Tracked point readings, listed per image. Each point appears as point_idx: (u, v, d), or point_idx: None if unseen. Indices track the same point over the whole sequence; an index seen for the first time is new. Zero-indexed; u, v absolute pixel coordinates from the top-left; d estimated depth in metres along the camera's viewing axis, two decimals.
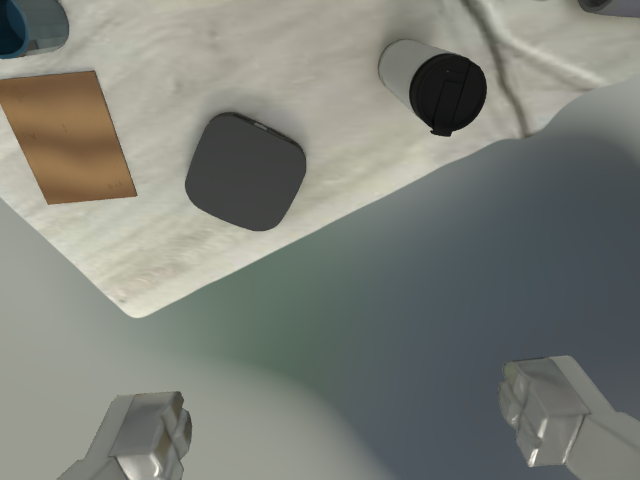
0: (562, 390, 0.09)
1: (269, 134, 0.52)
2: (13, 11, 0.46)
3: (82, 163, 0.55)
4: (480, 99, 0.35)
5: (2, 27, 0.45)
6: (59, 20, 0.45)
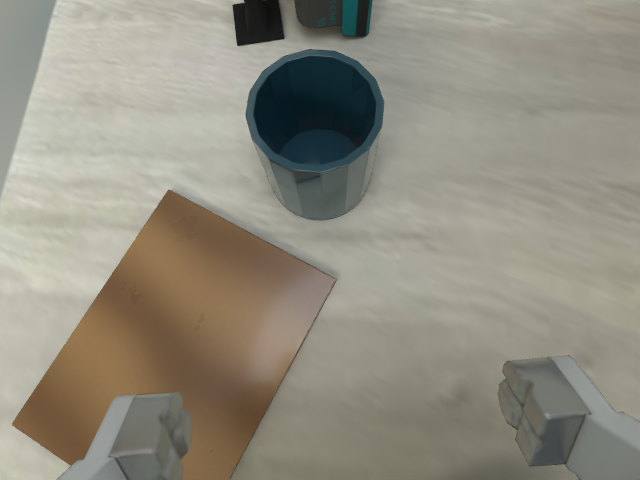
0: (562, 390, 0.09)
1: None
2: (300, 145, 0.27)
3: None
4: None
5: (274, 146, 0.26)
6: (363, 189, 0.25)
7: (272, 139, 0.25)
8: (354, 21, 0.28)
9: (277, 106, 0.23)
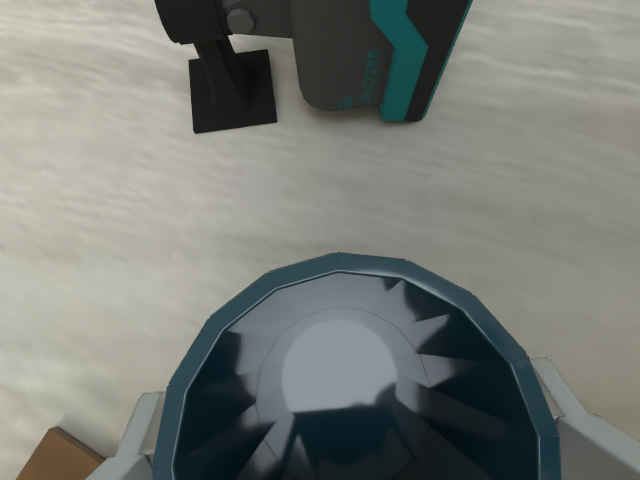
0: None
1: None
2: (305, 340, 0.14)
3: None
4: None
5: (253, 368, 0.13)
6: None
7: (248, 368, 0.12)
8: (405, 101, 0.15)
9: (255, 332, 0.10)
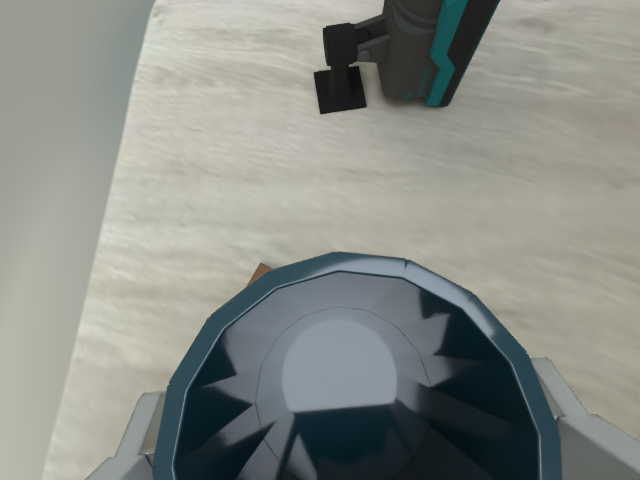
0: None
1: None
2: (305, 339, 0.14)
3: None
4: None
5: (253, 368, 0.13)
6: None
7: (248, 367, 0.12)
8: (440, 95, 0.29)
9: (255, 331, 0.10)
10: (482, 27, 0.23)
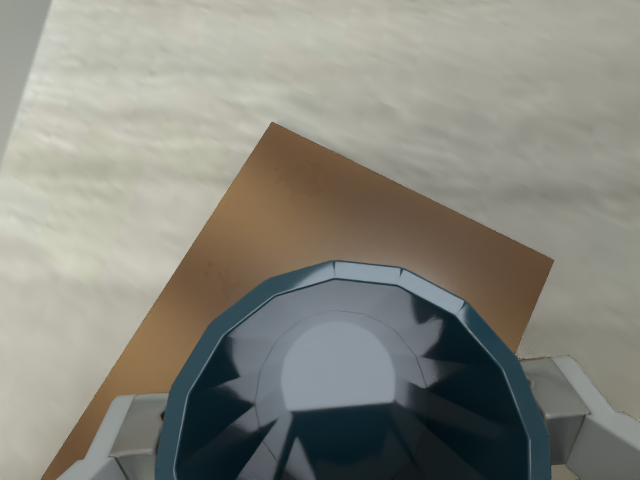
0: (562, 390, 0.09)
1: None
2: (304, 343, 0.15)
3: None
4: None
5: (252, 370, 0.13)
6: None
7: (248, 371, 0.12)
8: None
9: (254, 337, 0.10)
10: None
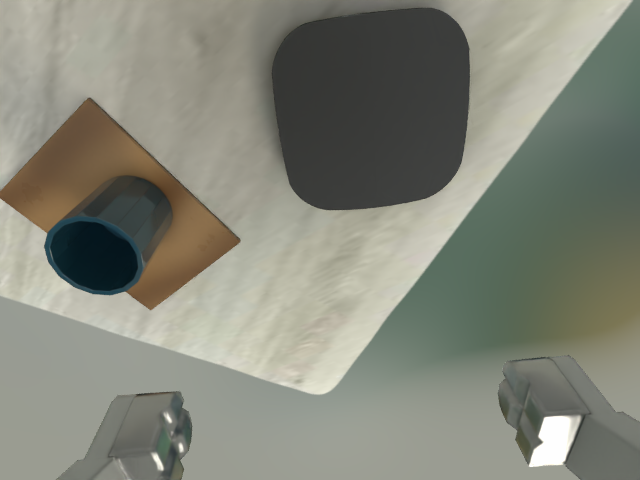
0: (562, 390, 0.09)
1: (375, 14, 0.27)
2: None
3: None
4: None
5: (108, 244, 0.35)
6: (155, 200, 0.34)
7: (104, 249, 0.35)
8: None
9: (81, 253, 0.32)
10: None
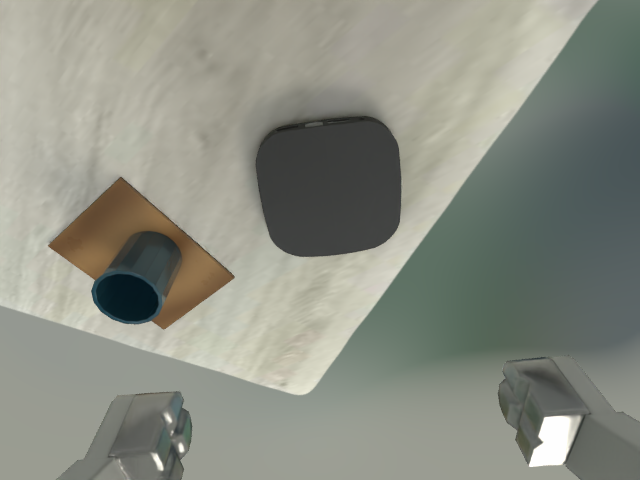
0: (562, 390, 0.09)
1: (329, 126, 0.38)
2: None
3: None
4: None
5: (133, 282, 0.46)
6: (169, 250, 0.45)
7: (130, 286, 0.46)
8: None
9: (115, 291, 0.43)
10: None
